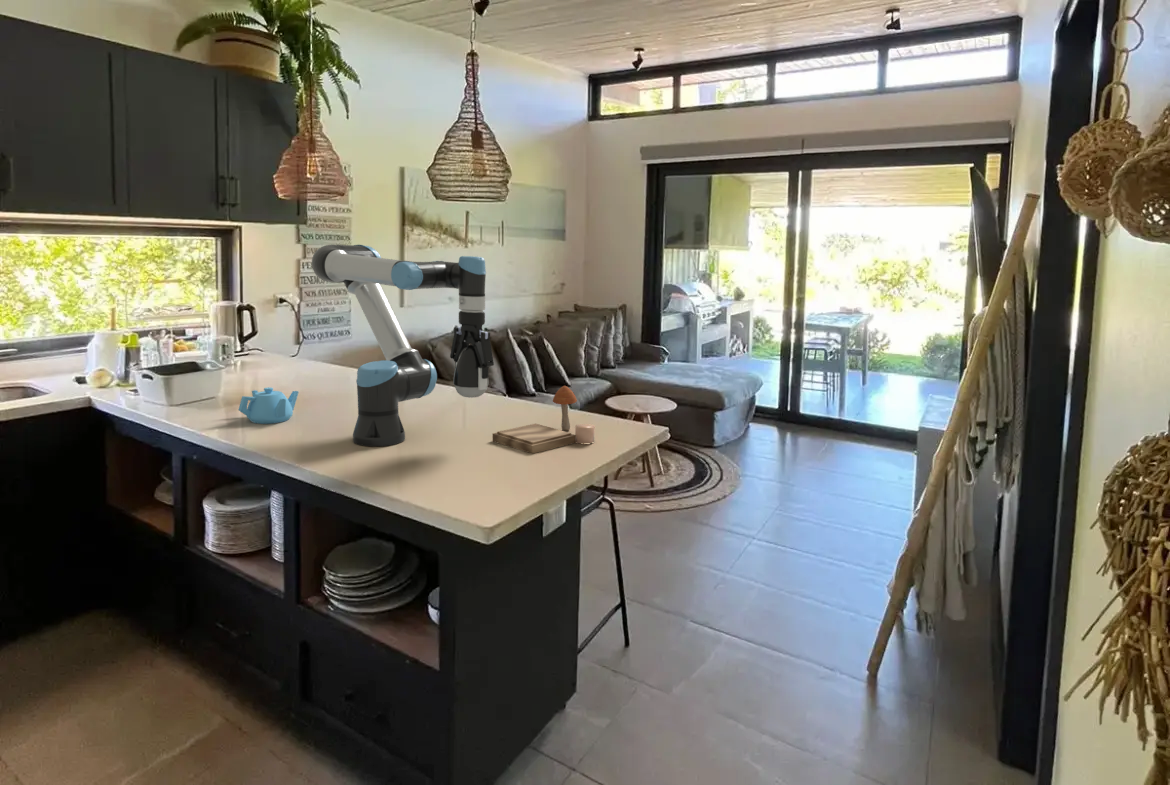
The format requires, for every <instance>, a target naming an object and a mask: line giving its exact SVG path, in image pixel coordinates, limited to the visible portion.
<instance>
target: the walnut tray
mask: <svg viewBox="0 0 1170 785" xmlns="http://www.w3.org/2000/svg"><path fill="white" fill-rule="evenodd" d="M491 441H492V442H494V443H498V444H500V445H504V446H507V447H510V448H514V449H517V450H520V451H522V452H527V453H529V454H537V453H541V452H544V451H549V450H552V449H556V448H561V447H564V445H565V446H568V444H569V445H572V444H571V443H573V444H576V443H575V442H576V435H575V434H573V433H572V432H568V431H562V429H561V430H560V429H558V428H553V427H550V426H547V425H546V426H545V425H542V424H539V423H531V424H527V425H522V426H516V427H513V428H508V429H503V430H500V431H496V432H493V433H492V440H491Z"/></svg>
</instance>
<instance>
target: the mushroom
mask: <svg viewBox="0 0 1170 785" xmlns="http://www.w3.org/2000/svg"><path fill="white" fill-rule="evenodd" d="M577 402H578V399H577V396H576V395H575V394H574V392H573V390H572V389H571V388H569V387H568V386H566V385H563V386H561V387H560V388H559V389H558V390H557V391H556V392H555V393H554V396H553V398H552V403H554V404H557V405H560V406H561V408H560V409H561V425H560V426H561V431H562V430H563V431H565V432H568V431H570V428H571V423H570V418H569V411H568V410H569V405H573V404H575V403H577Z"/></svg>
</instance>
